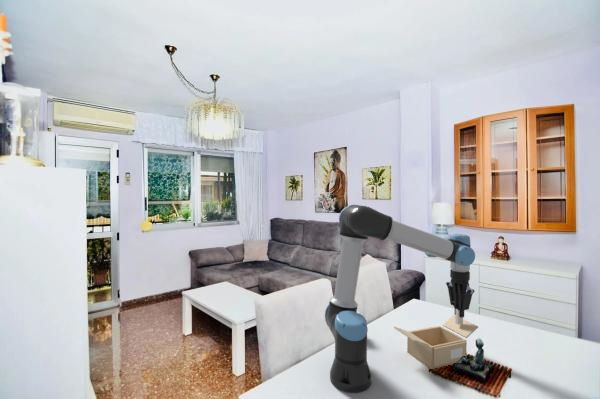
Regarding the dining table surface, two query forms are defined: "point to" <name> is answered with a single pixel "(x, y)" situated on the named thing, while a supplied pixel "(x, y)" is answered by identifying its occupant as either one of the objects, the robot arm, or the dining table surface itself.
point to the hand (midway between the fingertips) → (459, 323)
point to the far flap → (460, 327)
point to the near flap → (411, 336)
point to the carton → (436, 347)
